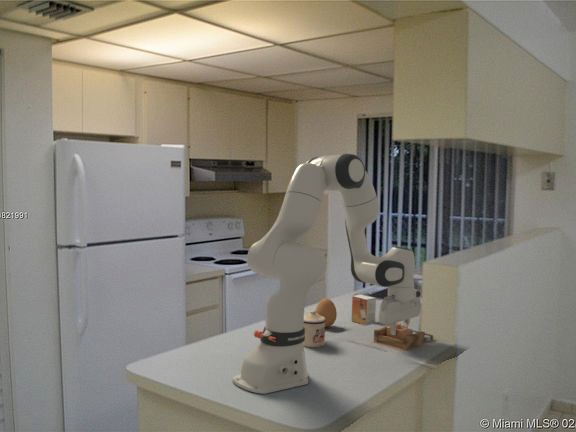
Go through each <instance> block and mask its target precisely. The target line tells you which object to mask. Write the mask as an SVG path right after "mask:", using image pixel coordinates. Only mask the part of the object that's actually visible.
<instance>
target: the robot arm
mask: <svg viewBox="0 0 576 432" xmlns="http://www.w3.org/2000/svg"><path fill="white" fill-rule="evenodd" d="M325 191H333V192H334V191H339V192H340V196H341V201H342V204H343V208H344V211H345V222H344V223H345V224H344V225H345V232H346V236H347V237H346V238H347V241H348V247H349V253H350V271H351V275H352V277H353V279H355V281H357V282H359V283H365V284H370V285H374V286H377V287H382V288H387V296H385V297H384V298H383V299H382V301H381V303H380V306H379V312H378V322H379V324H381V325H386V326H390V328H391V334H392V335H396V334H398V330H397V329H396V326H395V325H396V323H400V322H402V324H401V327H404V328H408V326H409V325H410V322H411V319H414V318H416V317H419V316H420V314H421V307H422V300H421V297H422V295H423V293H422V290H419V289H416V288H415V282H414V276H415V272H416V271H415V269H416V268H415V267H416V266H415V265H416V264H415V255H414V251H413V250H412V249H410V248H405V247H400V246H391V248H390V250H389V251H388V252H386V253H385V254H383V255H382V256H375V255H374V254H372V253H370V251H369V248H368V242H367V237H366V233H365V230H366V228H367V227H368V226H370V225H372V224H373V223H374V222H375V221H376V220H377V218H379V215H380V204H379V201H378V196H377V193H376V190H375V187H374V184H373V182H372V180H371V178H370V175H369V174H368V172H367V171H366V168H365V164H364V162H363V161H362V159H361V158H360V157H359V156H358V155H357V154H353V153H352V154H351V153H343V154H327V155H323V156H319V157H318V156H317V157H313V158H310V159H309V160H307V161H306V162H303V163H301V164H299V165H298V166H296V169H295V170H294V173H293V174H292V177H291V179H290V181H289V184H288V185H287V189H286V192H285V195H284V198H283V202H282V204H281V207H280V210H279V212H278V216H277V218H276V220H275V222H274V223H273V225H272V227H270V229H269V231H268V232H266V234H265V235H264V236H263V237H262V238H260V240H258V241H256V242H255V243H253V244H252V245H251V246H250V247H249V249H248V252H247V257H246V258H247V261H246V262H247V265H248V268H249V269H250V270H251V272H253V273H255V274H257V275H259V276H261V277H264V278H269V279H274V280H280V283H279V284H280V285H279V288H278V291H277V292H275V293H274V294H272V295H270V296H269V297H268V298H267V300H266V303H265V325H264V327H263V330H262V331H260V330H258V329H257V330H255V331H254V332H253V336H254V338H256V339H257V338H258V339H260V341H259V342H258V343H257V345H255V347H254V348H253V349H252V350H251V351H250V352H249V353H248V354H247V355H246V356H245V357H244V358H243V360H242V363H241V367H240V368H241V369H240V373H238V374H236V375H233V376H232V383H233V384H234V385H236V386H237V387H239V388H241V389H243V390H246V391H248V392H252V393H256V394H263V395H264V394H269V393H273V392H274V393H275V392H278V391H283V390H287V389H291V388H296V387H300V386H304V385H309V379H308V377H309V373H308V370H307V364H306V354H305V353H306V352H305V346H304V343H303V342H304V340H305V328H304V327H303V325H304V315H305V308H306V307H305V305H306V300H307V297H308V295H309V292H310V291H311V289H312V288H313V286H314V285H315V284H316V283H318V282H319V281H320V280H322V278H323V277H324V275H325V273H326V271H327V258H326V256H325V253H324V252H323V251H322V250H321V249H319V248H317V247H315V246H312V245H309V244H304V243H298V242H299V240H301V239H302V237H304V236H305V235H307V234H309V233H312V231H313V230H314V229H315V227H316V225H317V222H318V217H319V214H320V211H321V206H322V203H323V199H324V195H325ZM408 329H409V328H408Z"/></svg>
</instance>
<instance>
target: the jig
mask: <svg viewBox="0 0 576 432" xmlns="http://www.w3.org/2000/svg"><path fill="white" fill-rule="evenodd" d="M387 327H389V325H386V326H384V327H380V328H377V329H374V331H373V341H372V343H373V344H378V345H380V346H384V347H387V348H390V349H394V350H398V351H400V352H401V351H402V352H405V351H408V350H411V349H413V348H417V347H419V346H422V345H424V344H427V343H431V342H433V341H436V339H435V338H434V334H430V333H426V332H425V331H418V330H413V329H412V330H413V332H416V334H413V335H409V336H406V337H403V341H402V340H399V339H395V338H391V337H388V336H387ZM425 335H428V336H431V341H428V342H427V337H425Z"/></svg>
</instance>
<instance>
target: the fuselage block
mask: <svg viewBox="0 0 576 432" xmlns="http://www.w3.org/2000/svg"><path fill="white" fill-rule="evenodd" d="M388 326H389V325H388ZM395 326H396V329H397V330H398V334H396V335H392V334H391V328H390V326H389V327H387V336H388V337H391V338H395V339H399V340H402V341H403V337H406V336H409V335H413V328H412V329H411V328H404V327H401V326H402V324H401V323H399V322H396V325H395Z"/></svg>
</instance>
